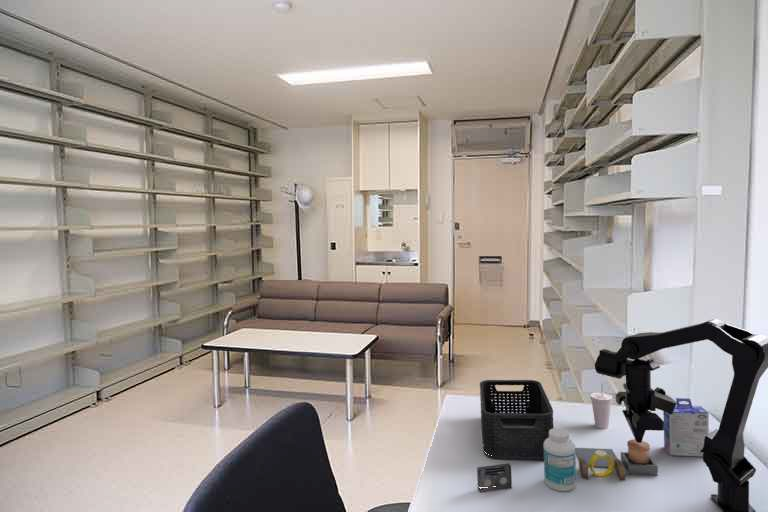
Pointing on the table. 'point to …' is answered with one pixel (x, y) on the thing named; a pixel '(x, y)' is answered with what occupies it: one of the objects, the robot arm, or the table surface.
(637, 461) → the tan domed cylinder
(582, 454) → the slate mat
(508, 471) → the mini dv tape
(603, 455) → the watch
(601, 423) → the smoothie
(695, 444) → the ink cartridge box
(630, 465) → the grey square tray
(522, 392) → the storage bin
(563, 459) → the pill bottle
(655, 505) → the table surface
